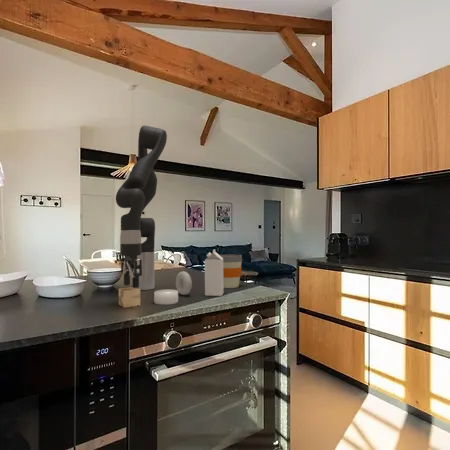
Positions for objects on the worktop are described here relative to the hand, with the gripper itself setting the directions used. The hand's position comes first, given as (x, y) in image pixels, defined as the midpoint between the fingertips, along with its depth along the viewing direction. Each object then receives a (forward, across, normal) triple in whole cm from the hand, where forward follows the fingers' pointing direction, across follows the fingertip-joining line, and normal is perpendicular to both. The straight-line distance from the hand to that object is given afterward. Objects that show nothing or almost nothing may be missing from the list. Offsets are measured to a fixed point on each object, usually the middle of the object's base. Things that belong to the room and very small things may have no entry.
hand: (131, 286), depth 126 cm
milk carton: (+7, -3, -36) cm, 36 cm away
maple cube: (+7, +1, 0) cm, 7 cm away
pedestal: (+7, -4, -12) cm, 15 cm away
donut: (+7, +4, -25) cm, 26 cm away
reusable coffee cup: (+7, +9, -53) cm, 54 cm away
